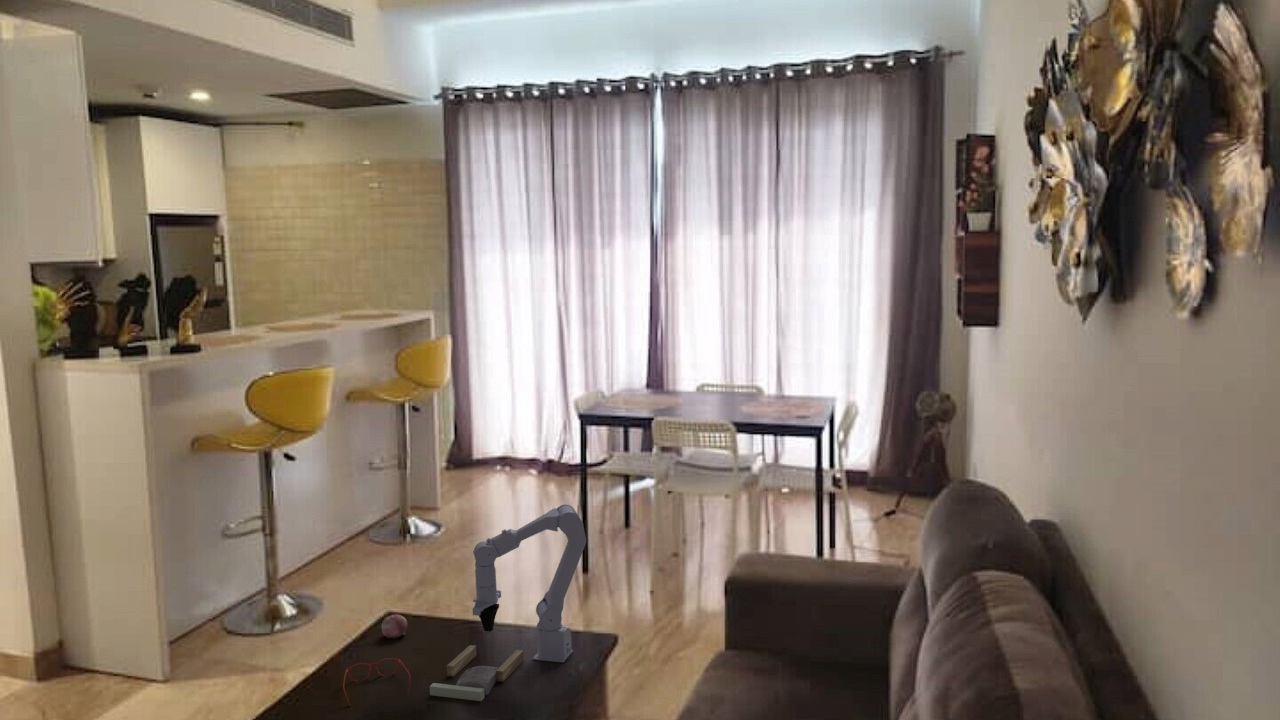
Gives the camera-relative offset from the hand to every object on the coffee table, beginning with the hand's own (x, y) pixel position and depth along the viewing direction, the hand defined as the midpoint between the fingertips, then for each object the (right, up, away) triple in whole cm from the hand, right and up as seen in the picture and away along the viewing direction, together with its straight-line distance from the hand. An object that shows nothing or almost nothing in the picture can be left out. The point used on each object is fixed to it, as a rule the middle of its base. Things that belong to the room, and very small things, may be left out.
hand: (488, 630), depth 265 cm
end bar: (-5, -12, -18) cm, 23 cm away
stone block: (-1, -12, -12) cm, 17 cm away
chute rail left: (-8, -10, +1) cm, 13 cm away
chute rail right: (+7, -10, -4) cm, 13 cm away
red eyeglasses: (-29, -13, -12) cm, 34 cm away
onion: (-33, -9, +23) cm, 41 cm away
